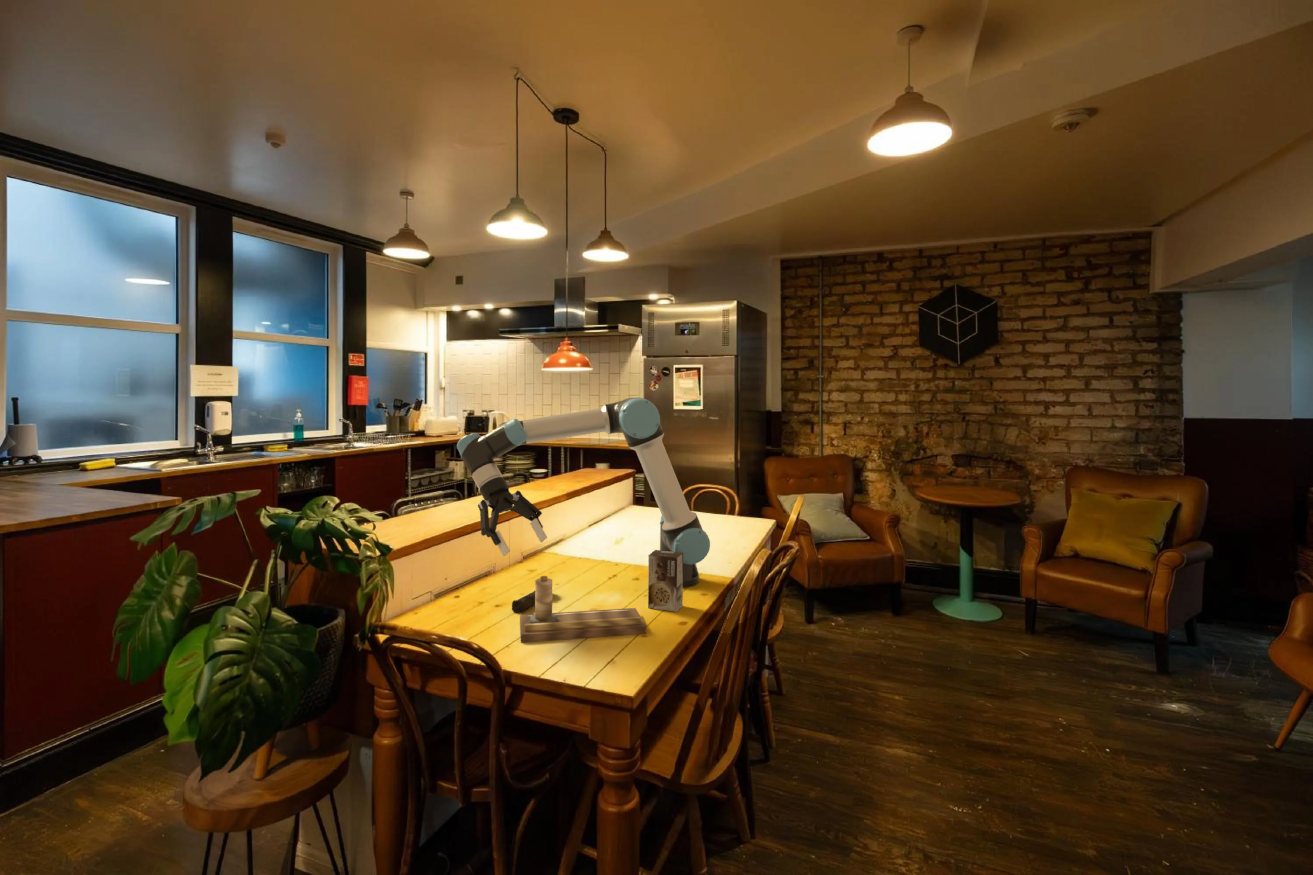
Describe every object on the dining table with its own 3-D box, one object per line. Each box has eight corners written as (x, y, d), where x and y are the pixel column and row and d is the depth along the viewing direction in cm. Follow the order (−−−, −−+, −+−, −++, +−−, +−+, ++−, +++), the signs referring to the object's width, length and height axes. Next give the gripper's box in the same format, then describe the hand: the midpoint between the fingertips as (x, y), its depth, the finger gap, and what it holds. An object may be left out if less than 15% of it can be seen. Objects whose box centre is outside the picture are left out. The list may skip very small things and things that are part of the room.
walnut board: (635, 614, 175) (635, 602, 175) (645, 633, 162) (646, 620, 162) (519, 621, 168) (519, 609, 168) (520, 642, 154) (520, 628, 154)
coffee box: (683, 605, 184) (684, 552, 183) (676, 612, 178) (678, 557, 177) (654, 601, 187) (655, 548, 186) (646, 608, 181) (648, 554, 180)
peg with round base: (555, 615, 168) (556, 572, 167) (558, 625, 161) (558, 580, 160) (529, 617, 166) (529, 573, 165) (530, 627, 159) (530, 581, 158)
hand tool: (522, 615, 174) (523, 599, 174) (511, 612, 176) (511, 596, 175) (559, 596, 191) (559, 581, 191) (548, 594, 193) (548, 579, 193)
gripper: (518, 481, 189) (551, 540, 184) (447, 499, 169) (483, 566, 164) (530, 468, 185) (565, 528, 179) (459, 484, 165) (496, 553, 160)
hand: (526, 546), depth 172 cm, fingers open, 13 cm apart
